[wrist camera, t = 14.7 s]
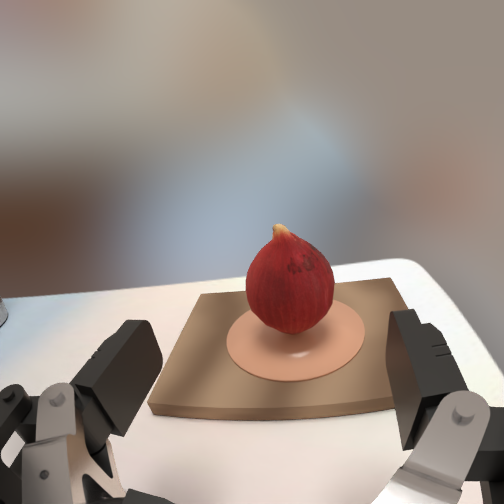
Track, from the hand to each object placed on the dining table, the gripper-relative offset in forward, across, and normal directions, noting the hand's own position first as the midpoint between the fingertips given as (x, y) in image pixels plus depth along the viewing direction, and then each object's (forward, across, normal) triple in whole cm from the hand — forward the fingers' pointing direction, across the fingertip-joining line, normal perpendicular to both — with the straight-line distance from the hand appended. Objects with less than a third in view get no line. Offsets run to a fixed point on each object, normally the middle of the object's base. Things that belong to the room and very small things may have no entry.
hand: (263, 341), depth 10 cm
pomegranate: (+10, 0, +8) cm, 13 cm away
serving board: (+10, 0, +9) cm, 14 cm away
